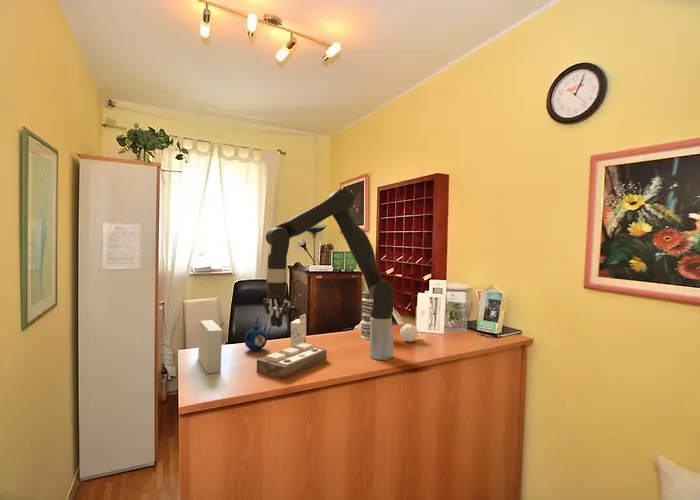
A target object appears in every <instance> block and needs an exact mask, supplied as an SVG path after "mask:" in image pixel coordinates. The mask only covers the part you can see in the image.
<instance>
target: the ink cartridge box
mask: <svg viewBox="0 0 700 500" xmlns="http://www.w3.org/2000/svg"><path fill="white" fill-rule="evenodd" d="M301 343H306V344H307V316H306V313H304V314H301V315H300V316H299V318H296V319H294V320H293V321H291V322H290V347H294V346H296V345H299V344H301Z"/></svg>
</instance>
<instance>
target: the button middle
mask: <svg viewBox="0 0 700 500" xmlns="http://www.w3.org/2000/svg"><path fill="white" fill-rule="evenodd" d="M281 351H282V354H285V355H286V356H289V357H292V356H295V355H298V354H300V350H299V349H295V348H291V346H290V347H288V348H284V349H282V350H281Z"/></svg>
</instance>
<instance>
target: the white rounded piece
mask: <svg viewBox="0 0 700 500" xmlns="http://www.w3.org/2000/svg"><path fill="white" fill-rule="evenodd" d="M399 334H400V337H401V339H402V340H403V341H405V342H408V343H411V342H414V341H415V340H416V339H417V338H418V336H419V331H418V328H417V326H415V325H414V324H410V323H406V324H404V325H403V326H402V327H401V328H400V329H399Z"/></svg>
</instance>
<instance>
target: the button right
mask: <svg viewBox="0 0 700 500" xmlns="http://www.w3.org/2000/svg"><path fill="white" fill-rule="evenodd" d="M312 347H313V344H310V343H307V342H306V343H301V344H299V345H296V346H295V349H299V350H300V351H303V352H305V351H308V350H311V349H312Z"/></svg>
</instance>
